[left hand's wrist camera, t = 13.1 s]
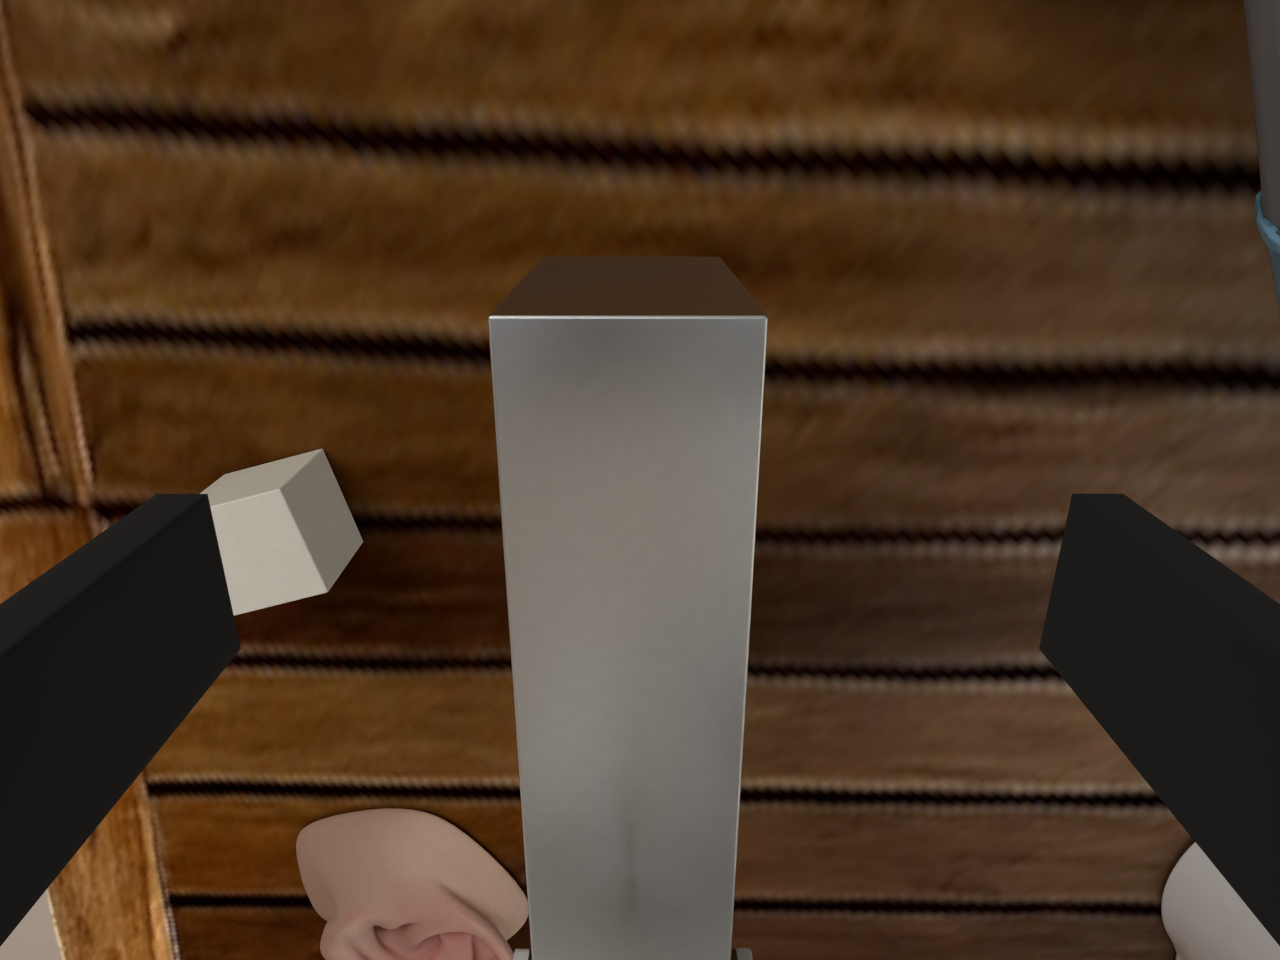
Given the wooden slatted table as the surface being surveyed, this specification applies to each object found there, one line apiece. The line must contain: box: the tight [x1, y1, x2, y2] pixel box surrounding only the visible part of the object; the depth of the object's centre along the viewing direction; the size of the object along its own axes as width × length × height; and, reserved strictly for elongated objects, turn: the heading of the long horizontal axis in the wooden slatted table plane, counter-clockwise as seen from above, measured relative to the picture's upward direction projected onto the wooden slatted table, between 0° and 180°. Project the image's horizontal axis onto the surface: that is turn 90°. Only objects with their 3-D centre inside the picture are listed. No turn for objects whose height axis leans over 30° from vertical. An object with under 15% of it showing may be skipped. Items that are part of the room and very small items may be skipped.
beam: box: [488, 257, 768, 960], centre depth 23 cm, size 5×26×9 cm, turn 0°
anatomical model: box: [296, 808, 529, 960], centre depth 46 cm, size 13×4×12 cm
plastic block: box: [200, 449, 363, 615], centre depth 37 cm, size 5×5×5 cm
